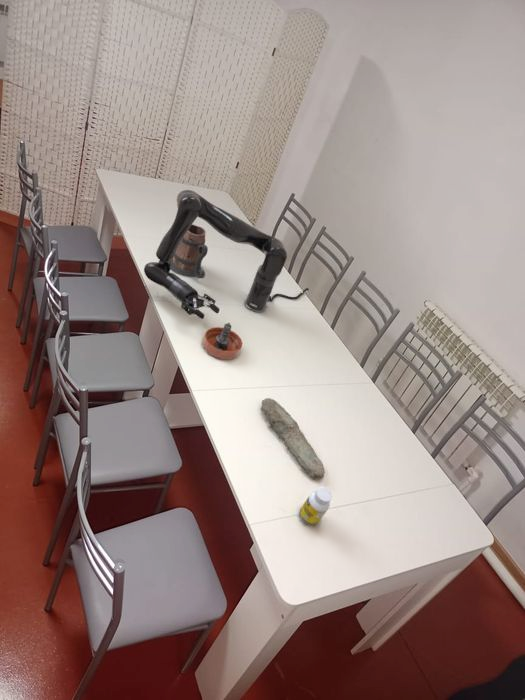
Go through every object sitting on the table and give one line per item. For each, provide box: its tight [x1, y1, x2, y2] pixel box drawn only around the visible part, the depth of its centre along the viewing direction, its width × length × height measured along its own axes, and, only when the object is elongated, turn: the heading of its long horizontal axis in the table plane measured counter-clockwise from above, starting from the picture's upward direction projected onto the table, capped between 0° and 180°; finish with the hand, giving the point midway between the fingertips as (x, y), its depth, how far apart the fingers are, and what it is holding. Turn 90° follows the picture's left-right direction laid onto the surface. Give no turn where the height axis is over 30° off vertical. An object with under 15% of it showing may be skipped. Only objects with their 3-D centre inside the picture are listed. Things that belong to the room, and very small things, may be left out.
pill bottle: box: [299, 487, 333, 526], centre depth 142 cm, size 6×6×12 cm
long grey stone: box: [261, 397, 326, 480], centre depth 166 cm, size 35×5×10 cm
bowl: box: [202, 326, 243, 360], centre depth 192 cm, size 15×15×4 cm
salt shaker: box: [214, 322, 232, 351], centre depth 190 cm, size 6×6×12 cm
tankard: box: [170, 223, 208, 279], centre depth 224 cm, size 24×17×20 cm
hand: (211, 314), depth 191 cm, fingers open, 8 cm apart
